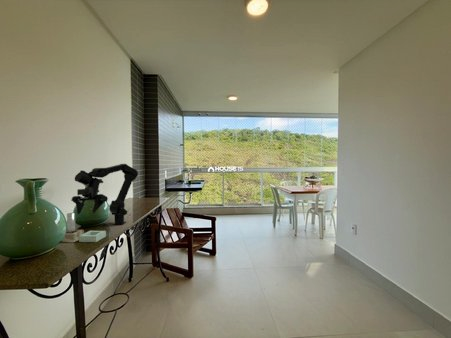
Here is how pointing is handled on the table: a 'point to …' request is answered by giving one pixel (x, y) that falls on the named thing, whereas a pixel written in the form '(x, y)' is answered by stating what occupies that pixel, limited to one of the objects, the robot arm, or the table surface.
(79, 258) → the table surface
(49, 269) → the table surface
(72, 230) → the axle
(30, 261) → the table surface
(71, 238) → the brown square frame
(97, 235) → the socket block
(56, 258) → the table surface
